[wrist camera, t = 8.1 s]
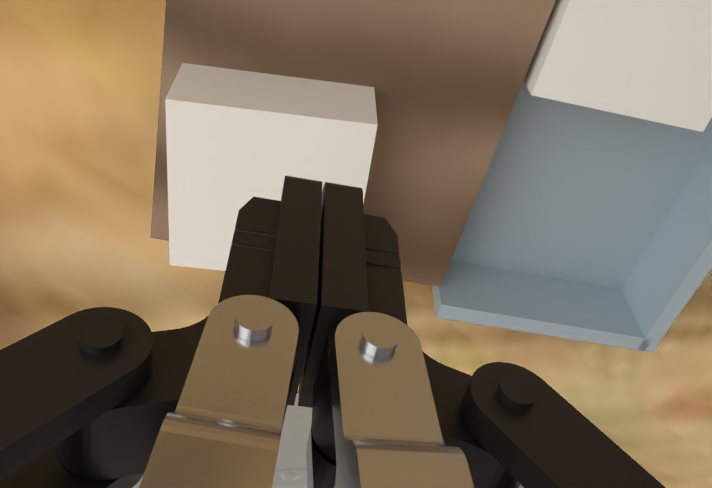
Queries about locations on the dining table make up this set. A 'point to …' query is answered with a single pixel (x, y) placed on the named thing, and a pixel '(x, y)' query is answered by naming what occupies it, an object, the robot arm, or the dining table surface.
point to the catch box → (584, 227)
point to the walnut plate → (380, 93)
